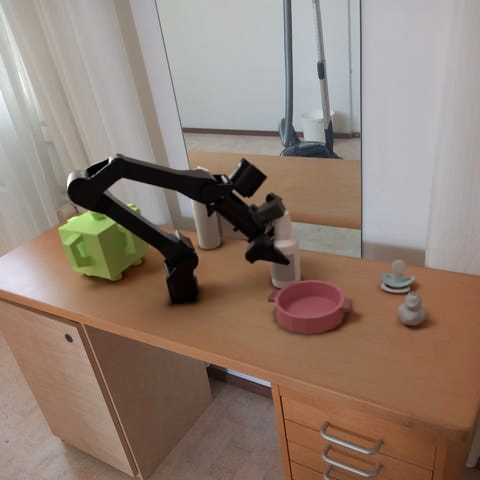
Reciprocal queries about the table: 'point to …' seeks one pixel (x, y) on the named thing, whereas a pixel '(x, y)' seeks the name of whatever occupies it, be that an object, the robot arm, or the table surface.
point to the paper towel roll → (205, 224)
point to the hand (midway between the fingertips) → (290, 256)
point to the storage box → (101, 245)
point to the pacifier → (396, 278)
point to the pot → (310, 306)
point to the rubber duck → (412, 310)
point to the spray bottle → (285, 253)
